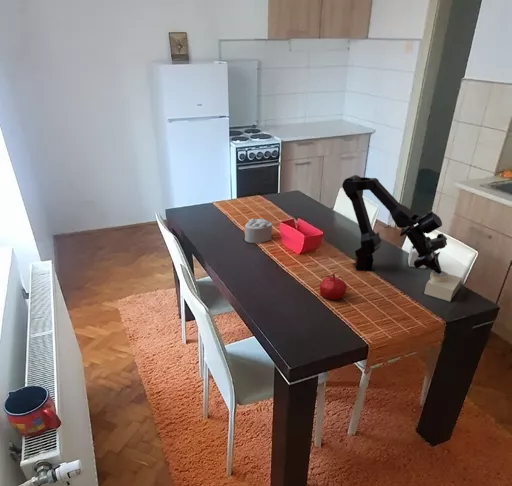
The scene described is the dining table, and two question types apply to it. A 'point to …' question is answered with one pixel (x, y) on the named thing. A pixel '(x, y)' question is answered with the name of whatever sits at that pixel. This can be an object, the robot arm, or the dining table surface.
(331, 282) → the pomegranate
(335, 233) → the dining table surface
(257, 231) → the lumpy-topped squat cylinder
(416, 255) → the medicine bottle
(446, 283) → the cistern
